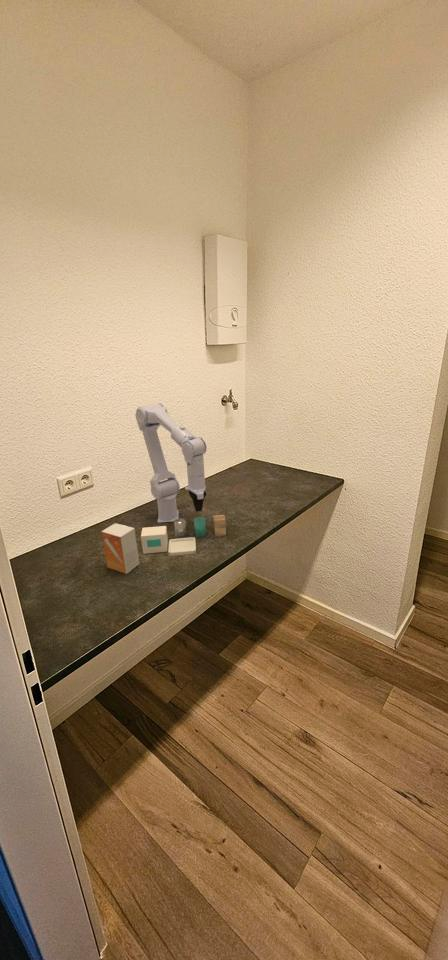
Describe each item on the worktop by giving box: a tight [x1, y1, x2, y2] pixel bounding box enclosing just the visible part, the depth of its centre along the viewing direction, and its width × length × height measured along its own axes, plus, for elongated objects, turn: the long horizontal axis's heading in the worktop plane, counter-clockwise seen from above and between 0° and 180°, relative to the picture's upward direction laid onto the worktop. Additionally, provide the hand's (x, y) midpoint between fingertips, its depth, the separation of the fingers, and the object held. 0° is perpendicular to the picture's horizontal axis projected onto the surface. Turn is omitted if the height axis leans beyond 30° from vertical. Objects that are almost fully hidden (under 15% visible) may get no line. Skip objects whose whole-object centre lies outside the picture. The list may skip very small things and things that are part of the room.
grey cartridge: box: [173, 517, 187, 539], centre depth 140 cm, size 4×4×6 cm
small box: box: [100, 522, 140, 575], centre depth 122 cm, size 8×6×13 cm
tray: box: [167, 536, 197, 557], centre depth 133 cm, size 9×9×1 cm
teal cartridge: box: [193, 516, 207, 538], centre depth 140 cm, size 4×4×6 cm
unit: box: [140, 525, 169, 554], centre depth 133 cm, size 7×8×6 cm
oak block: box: [212, 514, 227, 537], centre depth 141 cm, size 4×4×6 cm
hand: (198, 510), depth 138 cm, fingers closed
